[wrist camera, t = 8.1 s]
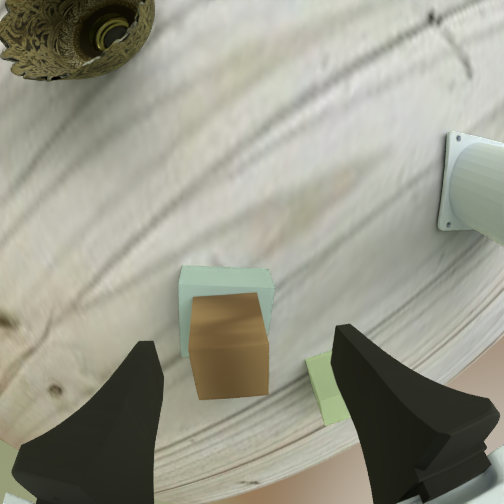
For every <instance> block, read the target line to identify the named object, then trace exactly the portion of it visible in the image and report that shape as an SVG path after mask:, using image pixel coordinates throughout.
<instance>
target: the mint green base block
mask: <svg viewBox="0 0 504 504" xmlns="http://www.w3.org/2000/svg"><path fill="white" fill-rule="evenodd" d="M274 291H275V286H274V283H273V280H272V277H271V274H270V271H269V269H257V268H231V267H208V266H186V265H182V270H181V274H180V279H179V283H178V294H179V325H180V346H181V357H189V352H188V345H189V333H190V322H191V311H192V301H193V297H197V296H212V295H227V294H241V293H254V292H257V295H258V299H259V303H260V308H261V312H262V316H263V321H264V325H265V329H266V333H267V338H268V332H269V325H270V318H271V312H272V305H273V298H274Z"/></svg>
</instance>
